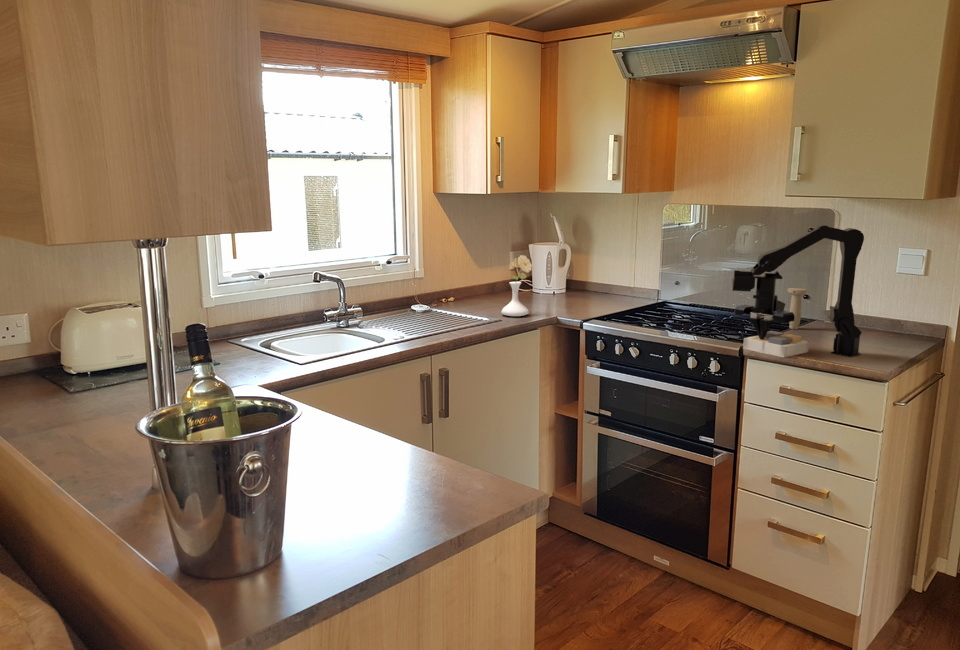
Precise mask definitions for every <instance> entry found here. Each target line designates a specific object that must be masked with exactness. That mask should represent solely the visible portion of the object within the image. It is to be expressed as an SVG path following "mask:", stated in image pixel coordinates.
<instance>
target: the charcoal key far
mask: <svg viewBox="0 0 960 650" xmlns="http://www.w3.org/2000/svg"><path fill="white" fill-rule="evenodd" d="M781 335H785V334H784V332H779V331H774V330H768V332H767V334H766V336H765V338H770V337H775V336H781Z"/></svg>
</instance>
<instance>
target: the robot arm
mask: <svg viewBox="0 0 960 650" xmlns="http://www.w3.org/2000/svg"><path fill="white" fill-rule="evenodd" d="M823 239H827V240H831V241H836V242H839V249H840V254H841V262H840V263H841V264H840V271H839V272H840V273H839V281H838V288H837V289H838V292H837V300H836V302H835V305H834V306H833V305H830V306H829V315H828V319H829V321H830V324H831V325H832V326H833V328H835V329H836V334H835V337H834V338H833V346H832V351H831V353H830V354H835V355H840V356H845V357H849V358H851V357H854V356H855V357H856V356H859V355H862V353H861V352H860V349H859V348H860V339H861V335H862V331H861V330H860V329H859V328H858V326H857V325H855V314H854V308H853V295H854V285H855V275H856V269H857V268H856V267H857V260H858V257H859V255H860V252H861V250H862V248H863V244H864V240H865V235H864V233H863V232H862V231H861V230H859V229H856V228H851V227H847V228H845V229H842V228H841V229H840V228H838V227H837V228H835V227H831V226H828V225H825V224H820V225H818V226H816V227H815V228H813V229H812V230H810V231H809V232H808V231H807V233H805V234H803V235H802V236H801V235H800V236H799V237H798V238H796V239H794V240H792V241H790V242H788V243H787V244H785V245H783V246H781V247H778V248H775V249H771V250H768V251H766V252H763V253H761V254H760V255H759V256H758V258H757V260H756V261H757V262H756V264H755V265H753V267H752V268H751V270H739V269H734V270H733V275H732V276H733V277H732V281H731V291H732V292H745V293H747V292H748V293H749V292H751V291H752V290H754V289H755V294H753V296H752V298H753V299H754V300H755V301H754V305H749V304H742V305H736V306H735V308H734V315H736V316H744V314H748V315H750V317H748V320H750V321H751V322H752V325H753V327H754V329H755V330H756V333H757V336H759V338H760V339H761V340H763V339H764V338H765V336H766V334H767V332H768V331H770V330H769V329H770V327H771V326H772V324H773V323H774V322H777V323H781V324H782V323H784V324H785V323H789V322H791V321H794V318H795V316H794V314H793V312H790V311H787V310H785V307H786V303H785V302H783V301H781V300H778V295H775V294H776V285H777V284H776V281H777V280H783V279H784V277H783V276H782V275H781V274H780V273H779V271H778V270H776V269H778V268H779V267H781V266H782V265H783V264H784V263H785V262H786V261H787V260H788V259H790V258H791V257H793V256H795V255H797V254H798V253H800V252H802V251H804V250H806V249H807V248H809V247H811V246H813V245H815V244H816V243H818V242H820V241H822V240H823ZM755 286H756V288H755Z"/></svg>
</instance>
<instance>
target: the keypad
mask: <svg viewBox="0 0 960 650" xmlns="http://www.w3.org/2000/svg"><path fill="white" fill-rule="evenodd" d="M754 338H759V336H758V335H753V336H748V337H744V338H743V345H742V349H743V350H747V351H752V352H753V351H754V352H757V353H760V354H761V353H762V354H767V355H770V356H775V357H781V358H788V357H792V356H797V355H801V354H806V353H809V346H810V344H809V343H810V342H809V341H808V340H804V339H801V341H800V342H795V343H791V342H790V344H785V345H778V344H773V343H768V342H769V341H765V342H763V341H758V340H753V339H754ZM766 339H769V338H766Z"/></svg>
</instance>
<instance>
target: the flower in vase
mask: <svg viewBox="0 0 960 650" xmlns="http://www.w3.org/2000/svg"><path fill="white" fill-rule="evenodd" d="M517 263H518V267H520V270H519V273H518V275H517V276H516V275H514V274H511V279H514V280H515V281H510V282H508V283H509V285H510V287H511V292H512V297H511V301H510V302H509V303H508V304H507V305H505V306H504V307H503V308H502V309H501V314H502V315H504V316H509V317H521V316H522V317H523V316H526V315H528V314H529V313H530V312H529V309H528V308H527V307H526V306H525V305H524V304H523V303H522V302H520V300H519V289H520V286H521V284H522V282H521V281H518V280H519V278H521V279H522V280H525V279H527V278H528V276H527V275H526V273H530V272H531V271H532V269H533V268H532V267H533V265H532V263H531V260H530V259H529V258H528V257H527V256H526V255H525V254H524V255H523V254H521V255H519V257H518V259H517ZM522 271H523V272H522Z"/></svg>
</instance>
